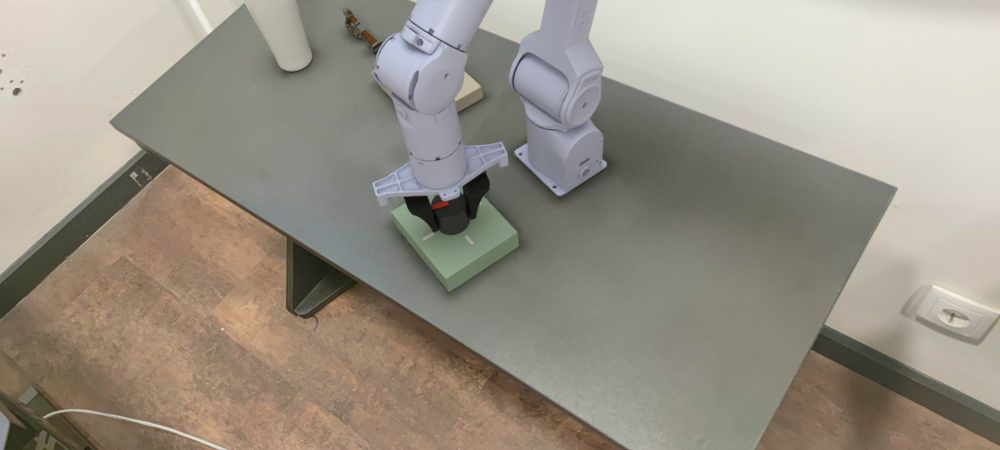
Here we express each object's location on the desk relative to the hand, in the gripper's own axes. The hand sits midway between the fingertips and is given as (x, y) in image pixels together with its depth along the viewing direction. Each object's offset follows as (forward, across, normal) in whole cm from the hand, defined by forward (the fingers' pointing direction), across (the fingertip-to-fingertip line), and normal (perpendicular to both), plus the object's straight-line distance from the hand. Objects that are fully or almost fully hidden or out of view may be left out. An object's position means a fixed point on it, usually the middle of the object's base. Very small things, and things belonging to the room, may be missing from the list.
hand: (452, 219), depth 81 cm
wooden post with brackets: (+4, -2, +40) cm, 40 cm away
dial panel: (+3, 0, 0) cm, 3 cm away
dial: (0, 0, 0) cm, 0 cm away
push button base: (+3, +4, +25) cm, 26 cm away
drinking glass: (+4, -13, +40) cm, 42 cm away
